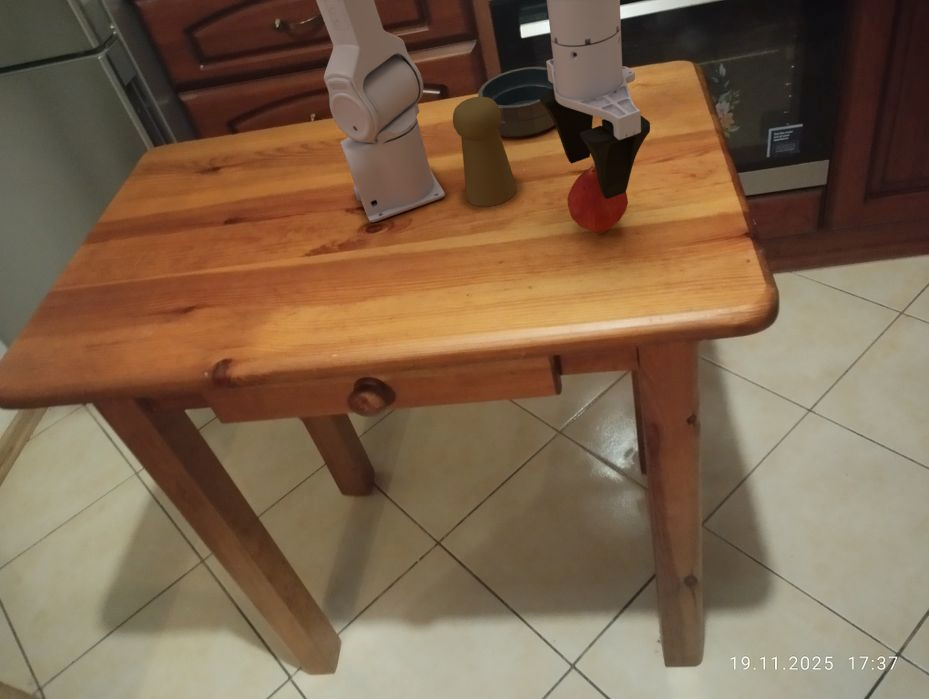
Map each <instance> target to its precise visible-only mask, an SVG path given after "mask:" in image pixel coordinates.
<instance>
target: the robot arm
mask: <svg viewBox="0 0 929 699" xmlns="http://www.w3.org/2000/svg"><path fill="white" fill-rule="evenodd" d="M315 1H316V4H317V7H318V9H319V12H320V15H321V17H322V19H323V22H324V25H325V27H326V30H327V32H328V35H329V38H330V41H331V43H332V47H333V48H332V52H331V54H330V57H329V59H328V63H327V66H326V69H325V71H324V75H323V81H324V83H325V86H326V88H327V92H328V98H329V99H328V100H329V108H330V113H331V116H332V118H333V121H334V122H335V125H336V126H337V127H338V128H339V130H340V131H341V132H342V133H343V134H345V135H346V136H347V137H346V138H344V139H342V140H340V141H339V144H340V148H341V150H342V153H343V156H344V159H345V161H346V165H347V167H348V170H349V173H350V175H351V178H352V181H353V184H354V185H353V186H352V188H353V192H354V194H355V197H356V199H357V201H358V202H360V203H361V205H362V207H363V209H364V212H365V213H366V216H367V219H368V221H369V223H376V222H379V221H381V220H384V219H387V218H390V217H392V216H393V217H394V216H396V215H398V214H399V215H400V214H402V213H404V212H407V211H411V210H412V209H415V208H418V207H421V206H424V205H427V204H429V203H432V202H434V201H438V200H441V199H443V198H445V197H446V193H445V190H444V189H443V188H442V186H441V184H440V183H439V182H438V179H437V178H436V177H435V175H434V173H433V171H432V170H431V166H430V162H429V158H428V155H427V150H426V146H425V143H424V139H423V135H422V131H421V127H420V124H419V120H418V115H419V113H420V112H421V111H420V109H419V104H418V102H420V101H421V99H422V97H423V94H424V80H423V77H422V74H421V72H420V70H419V68H418V67H417V65H416V64H415V62H414V61H413V59H412V58H411V56H410V54H409V53H408V49H407V47H406V43H405V41H404V39H403V38H401V37H399V36H397V35H395V34H392V33H390V32H388V31H386V30H385V29H384V26H383V24H382V21H381V18H380V15H379V11H378V8H377V6H376V5H377V4H376V2H375V0H315ZM546 7H547V16H548V24H549V25H548V26H549V33H550V43H551V52H552V53H551V54H552V59H548V60H546V61H545V63H546V67H547V72H548V80H549V81H550V82H551V83H553V89H552V90H549V91H546V92H544V93H542V94H541V95H540V96H539V99H540V101H541V103H542V104H543V105H544V107H545V108H546V110H547V111H548V113H549V114H550V116H551V118H552V120H553V122H554V124H555V125H554V127H555V129H556V131H557V134H558V137H559V140H560V143H561V145H562V148H563V152H564V154H565V156H566V158H567V161H568V162H569V163H570V164H571V165H572V164H575V163H577V162H580V161H583V160H585V159H589V158H590V157H591V158H592V160H593V164H595V167H596V171H597V176H598V181H599V186H600V189H601V192H602V194H603V196H604V197H605V198H606V199H609V198H612V197H614V196H617V195H620V194H623V193H625V192H626V193H627V189H628V186H629V182H630V178H631V173H632V169H633V166H634V163H635V159H636V157H637V154H638V152H639V150H640V148H641V146H642V144H643V143H644V141H645V139H646V138H647V136H648V135H649V134H650V132H651V123H650V121H649V119H647V118H645V117H644V116H643V115H641V109H639V108H638V107H637V106H636V105H635V103H634V100H633V98H632V95H631V92H630V89H629V86H628V84H630V83H632V82H634V81H635V80H636V72H635V71H634V70H633V69H631V68H629V67H628V66H623V52H622V49H623V48H622V22H621V20H622V19H621V18H622V17H621V0H546ZM594 117H595V118H598V119H599V118H600V119H601V125H598V126H595V127H593V122H594V121H593V120H594Z"/></svg>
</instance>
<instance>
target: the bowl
mask: <svg viewBox="0 0 929 699" xmlns="http://www.w3.org/2000/svg"><path fill="white" fill-rule="evenodd" d="M552 89H553V83H551V82H550V81H549V80H548V72H547V66H546V67H545V66H526V67H520V68H516V69H511V70H508V71H505V72H502V73H499V74H498V75H496V76H493V77H491V78H490V79H488V80H487V81H486V82H485V83H483V84H481V87H480V88H479V89H478V92H477V97H488V98H491V99H493V100H494V101H495V102H496V104H497V105H498V107H499V109H500V113H501V122H500V126H499V128H498V130H499V133H500V136H501V137H506V138H527V137H530V136H534V135H538V134H541V133H544V132H546V131H548V130H550V129H551V128H553V127H555V124H554V122H553V120H552V118H551V116H550V114H549V113H548V111H547V110H546V108H545V107H544V105H543V104H542V103H541V101H540V99H539V96H540V95H541V94H542V93H544V92H546V91H549V90H552Z"/></svg>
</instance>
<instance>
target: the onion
mask: <svg viewBox="0 0 929 699" xmlns="http://www.w3.org/2000/svg"><path fill="white" fill-rule="evenodd" d="M628 201H629V200H628V195H627V191H626V192H625V193H623V194H620V195H617V196H614V197H612V198H609V199H606V198H605V197H604V196H603V194H602V192H601V189H600V186H599V181H598V176H597V171H596V167H595V164H594V163H592V164H591V166H590V167H589V168H588V169H586V170H584V171H583V172H582V173H581V174H580V175H579V176H578V177H577V178H576V179H575V181H574V182H573V184H572V186H571V187H570V189H569V192H568V194H567V208H568V211H569V212H568V213H569V215H570V217H571V219H572V220H573V221H574V222H575V223H576V225H578V227H580V228H582V229H584V230H587V231H589V232H593V233H594V234H596V235H599V234H600V235H601V234H603V233H606V231H608V230H609V229H611V228H612V227H613V226H615V225H616V224H618V223H619V222H620V221H621V219H622V217H623V216H624V215H625V213H626V211H627V208H628V203H629V202H628Z"/></svg>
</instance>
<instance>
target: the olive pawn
mask: <svg viewBox="0 0 929 699" xmlns="http://www.w3.org/2000/svg"><path fill="white" fill-rule="evenodd" d="M500 122H501V113H500V109H499V107H498V105H497V104H496V102H495V101H494V100H493V99H491V98H488V97H478V96H473V97H470V98H467V99H465V100H462V101H461V102H460V103H458V104H457V105H456V106H455V108H454V110H453V113H452V124H453V128H454V130H455V132H456V133H457V135H458V136H460V138H461V150H462V161H463V174H464V187H465V189H464V190H465V198H466V200H467V202H468V203H470V204H471V205H473V206H477V207H485V208H486V207H494V206H498V205H501V204H504V203H505V202H507V201H509V200H510V199H511V198H513V197H514V196H515V194H516V193H517V190H518V189H517V186H518V185H517V183H516V180H515V177H514V174H513V171H512V170H513V169H512V167H511V164H510V161H509V158H508V154H507V151H506V149H505V146H504V142H503V139H502V136H500V133H499V130H498V128H499V126H500Z"/></svg>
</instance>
